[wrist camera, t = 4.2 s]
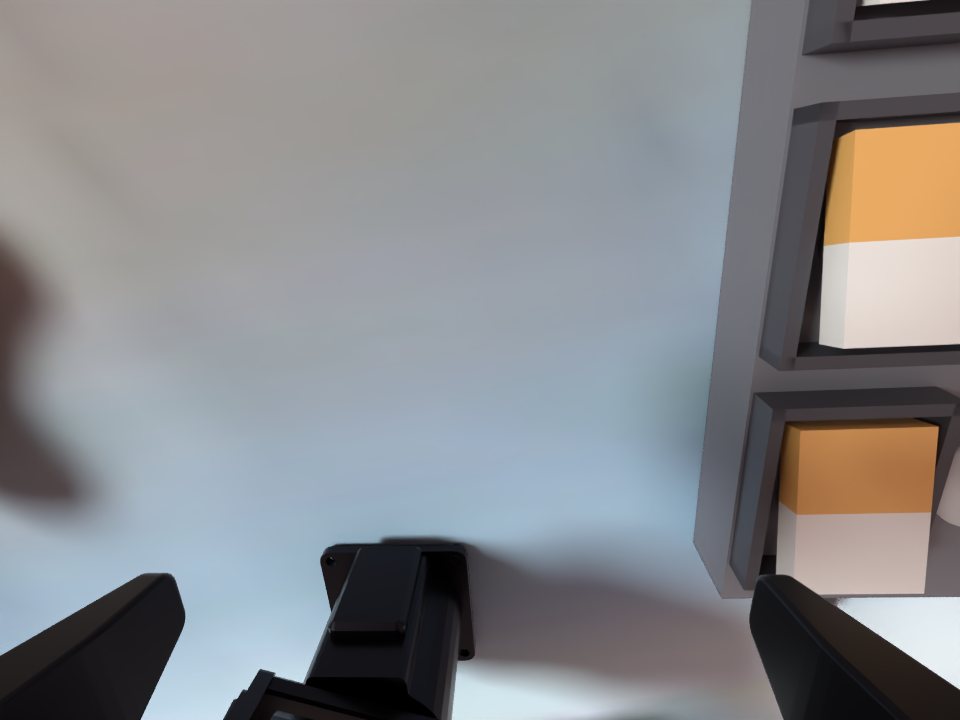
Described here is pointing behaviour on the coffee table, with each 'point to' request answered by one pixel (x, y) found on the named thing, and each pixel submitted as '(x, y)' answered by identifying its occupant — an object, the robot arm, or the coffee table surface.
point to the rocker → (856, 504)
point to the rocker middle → (892, 238)
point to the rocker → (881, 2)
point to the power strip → (817, 273)
